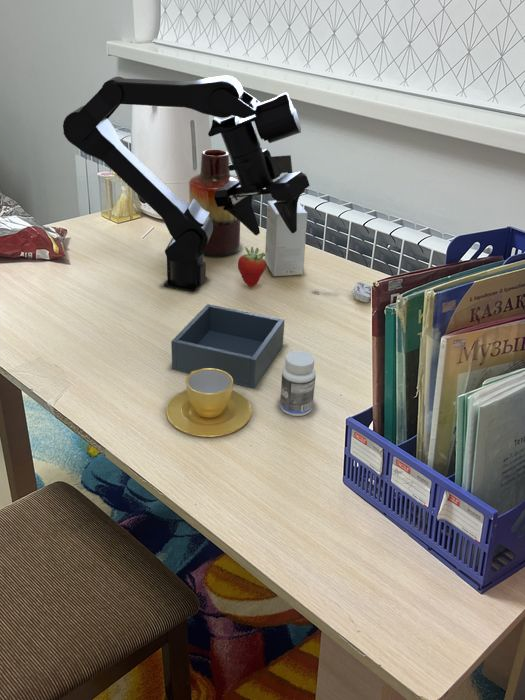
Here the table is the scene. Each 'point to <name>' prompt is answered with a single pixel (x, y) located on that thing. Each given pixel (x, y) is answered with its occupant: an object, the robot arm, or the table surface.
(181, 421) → the cup
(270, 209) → the small box
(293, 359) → the pill bottle
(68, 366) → the table surface
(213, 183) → the vase
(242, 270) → the fruit
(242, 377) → the box
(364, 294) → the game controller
